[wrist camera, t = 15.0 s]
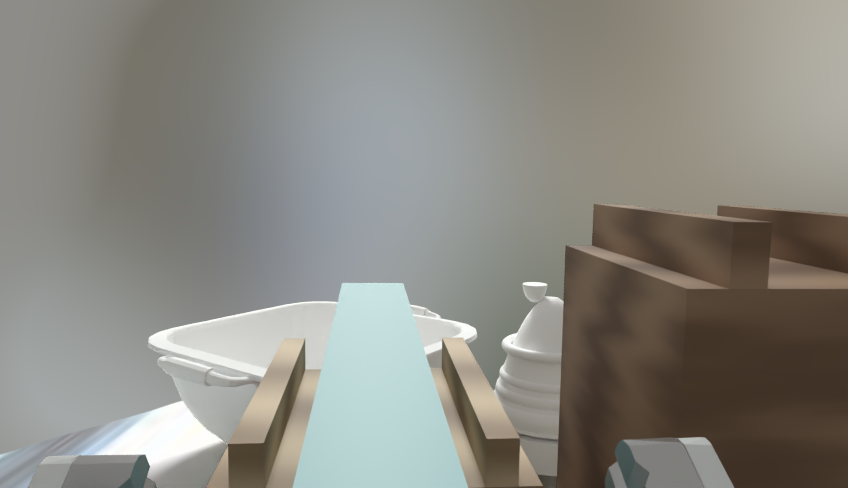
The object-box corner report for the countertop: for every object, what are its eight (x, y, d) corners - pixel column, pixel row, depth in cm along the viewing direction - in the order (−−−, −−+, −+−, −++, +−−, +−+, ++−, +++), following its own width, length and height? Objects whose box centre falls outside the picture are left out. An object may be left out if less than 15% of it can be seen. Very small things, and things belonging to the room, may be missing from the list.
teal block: (474, 672, 12) (478, 520, 12) (284, 682, 12) (283, 526, 11) (402, 333, 38) (403, 283, 37) (342, 334, 38) (342, 283, 37)
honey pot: (474, 464, 66) (478, 290, 64) (502, 420, 78) (506, 273, 76) (604, 486, 62) (612, 300, 60) (612, 436, 74) (620, 280, 72)
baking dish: (331, 378, 93) (331, 291, 92) (506, 423, 77) (509, 319, 76) (99, 460, 66) (94, 338, 64) (296, 558, 49) (295, 398, 48)
